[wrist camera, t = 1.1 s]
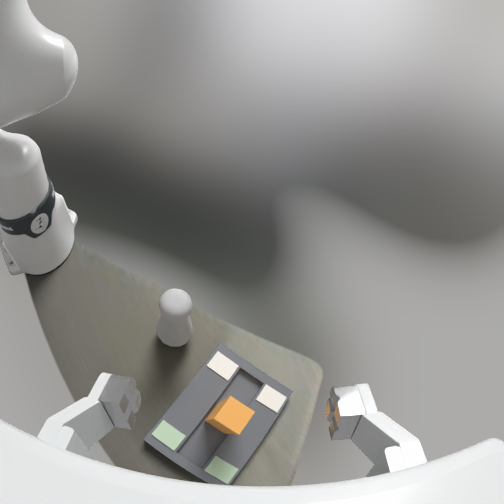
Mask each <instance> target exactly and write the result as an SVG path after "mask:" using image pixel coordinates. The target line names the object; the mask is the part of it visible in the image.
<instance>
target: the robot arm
mask: <svg viewBox="0 0 504 504" xmlns="http://www.w3.org/2000/svg"><path fill="white" fill-rule="evenodd" d="M77 72H78V59H77V54H76V51H75V49H74V47H73V45H72V44H71V43H70V42H69V41H68V40H67V39H66V38H65V37H63V36H61V35H59V34H56V33H54V32H52V31H50V30H48V29H47V28H46V27H44V26H43V25H42V24H40V23H39V21H38V20H37V19H36V18H35V17H34V15H33V14H32V12H31V10H30V8H29V6H28V3H27V0H0V128H2V127H4V126H6V125H9V124H11V123H14V122H16V121H19V120H21V119H24V118H26V117H29V116H32V115H35V114H37V113H39V112H41V111H43V110H45V109H46V108H48V107H50V106H52V105H54V104H56V103H57V102H59V101H61V100H63V99H65V98H66V97H67V95H68V94H69V92H70V91H71V89H72V87H73V85H74V82H75V80H76V77H77ZM76 222H77V215H76V213H75V212H73V211H71V210H69V209H68V208H67V206H66V204H65V201H64V199H63V197H62V196H61V195H59V194H58V193H56V192H54V188H53V185H52V183H51V181H50V179H49V177H48V176H47V175H46V172H45V168H44V164H43V161H42V157H41V153H40V149H39V147H38V145H37V144H36V143H35V142H34V141H33V140H31V138H29V137H27V136H25V135H22V134H15V133H8V132H5V131H3V130H1V129H0V246H1V249H2V252H3V255H4V258H5V261H6V264H7V267H8V270H9V272H10V273H11V274H12V275H17V274H21V273H28V274H33V275H38V274H44V273H47V272H49V271H51V270H53V269H55V268H56V267H58V266H59V265H60V264H61V263H62V262H63V261H64V260H65V259H66V258H67V256H68V255H69V253H70V251H71V249H72V246H73V243H74V227H75V225H76ZM12 263H13V264H12ZM11 264H12V265H11ZM135 387H136V381H135V379H133V378H128V377H123V376H118V375H113V374H108V373H102V374H100V376H99V378H98V379H97V381H96V383H95V385H94V387H93V388H92V390H91V392H90V394H89V396H88V397H84V398H82V399H81V400H79V401H77V402H75V403H74V404H72V405H70V406H69V407H67V408H65V409H63V410H62V411H60V412H58V413H57V414H55V415H53V416H51V417H50V418H48V419H47V421H46V423H45V424H44V426H43V428H42V429H41V431H40V433H39V435H38V437H34V436H32V435H30V434H28V433H26V432H24V431H22V430H20V429H18V428H16V427H14V426H12V425H10V424H8V423H7V422H5V421H3V420H1V419H0V504H504V442H503V441H501V440H499V439H496V438H490V439H487V440H485V441H482V442H480V443H478V444H476V445H473V446H471V447H468V448H466V449H464V450H461V451H458V452H456V453H453V454H450V455H448V456H445V457H442V458H439V459H436V460H433V461H430V462H427V460H426V457H425V455H424V452H423V449H422V447H421V444H420V441H419V439H417V438H416V437H415V436H413V435H412V434H410V433H409V432H408V431H406V430H405V429H404V428H402V427H401V426H400V425H398V424H397V423H396V422H394V421H393V420H392V419H390V418H389V417H388V416H386V415H385V414H384V413H382V412H378V410H377V408H376V405H375V402H374V399H373V396H372V393H371V390H370V388H369V385H368V384H356V385H345V386H333V387H332V388H331V390H330V396H331V397H330V398H329V399H328V401H327V408H326V412H327V420H328V421H330V422H331V424H330V427H329V431H330V436H331V440H343V439H351V440H352V441H353V443H354V444H355V445H356V446H357V447H358V448H359V449H360V450H361V451H362V452H363V453H364V454H365V455H366V456H367V457H368V458H369V459H370V460H371V461H372V462H373V463H374V464H375V465H374V466H373V468H372V469H371V470H370V472H369V473H368V474H367V476H366V477H365V478H360V479H354V480H348V481H340V482H333V483H323V484H313V485H300V486H232V485H218V484H207V483H198V482H190V481H183V480H176V479H170V478H165V477H159V476H154V475H149V474H145V473H140V472H136V471H132V470H128V469H124V468H120V467H116V466H113V465H109V464H105V463H102V462H99V461H96V460H95V457H94V456H93V455H92V453H91V452H90V451H89V448H90V447H91V446H92V445H94V444H95V443H96V442H97V441H99V440H100V439H101V438H102V437H103V436H105V435H106V434H107V433H108V432H109V431H111V430H112V429H113V428H114V426H116V427H121V428H126V429H131V430H132V427H133V425H134V422H135V419H136V417H135V415H134V413H136V412H137V411H139V408H140V406H141V394H140V392H139V390H138V389H136V388H135Z"/></svg>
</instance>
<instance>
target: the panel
mask: <svg viewBox="0 0 504 504" xmlns="http://www.w3.org/2000/svg"><path fill="white" fill-rule="evenodd" d="M292 392H293V391H292V390H290V389H288V388H287V387H285V386H284V385H282V384H281V383H279V382H278V381H276V380H274V379H273V378H271V377H270V376H268V375H267V374H265V373H264V372H262V371H261V370H259V369H258V368H256V367H255V366H253V365H252V364H251V363H249V362H248V361H246V360H245V359H243V358H242V357H240V356H239V355H238V354H236V353H235V352H233V351H232V350H230V349H229V348H228V347H226V346H225V345H223V344H222V343H221V344H220V345H219V346H218V347H217V349H216V350H215V351H214V353H213V354H212V355H211V356H210V358H209V359H208V360H207V362H206V363H205V364H204V365H203V367H202V368H201V369H200V370H199V372H198V373H197V374H196V375H195V377H194V378H193V379H192V381H191V382H190V383H189V384H188V386H187V387H186V388H185V389H184V391H183V392H182V393H181V394H180V395H179V397H178V398H177V399H176V400H175V402H174V403H173V404H172V405H171V407H170V408H169V409H168V410H167V411H166V413H165V414H164V415H163V416H162V418H161V419H160V420H159V421H158V422H157V424H156V425H155V426H154V427H153V429H152V430H151V431H150V432H149V433H148V435H147V436H146V437H145V438H144V439H143V440H145V441H146V442H147V443H148V444H150V445H151V446H152V447H154V448H155V449H157V450H158V451H159V452H161V453H162V454H163V455H165V456H166V457H168V458H169V459H171V460H172V461H173V462H175V463H176V464H178V465H179V466H181V467H182V468H184V469H186V470H187V471H189V472H190V473H192V474H193V475H195V476H197V477H198V478H200V479H202V480H203V481H205V482H207V483H208V484H218V485H230V484H231V483H232V481H233V480H234V479H235V477H236V476H237V475H238V473H239V472H240V471H241V469H242V468H243V467H244V465H245V464H246V462H247V461H248V460H249V458H250V457H251V455H252V454H253V452H254V451H255V450H256V448H257V447H258V445H259V444H260V442H261V441H262V439H263V438H264V436H265V435H266V433H267V432H268V430H269V429H270V427H271V426H272V424H273V423H274V421H275V420H276V418H277V416H278V415H279V413H280V412H281V410H282V409H283V407H284V405H285V404H286V402H287V400H288V399H289V397H290V396H291V394H292ZM229 396H232V397H233V398H235V399H236V400H238V401H239V402H241V403H242V404H244V405H246V406H247V407H249V408H250V409H252V410H253V411H255V413H254V414H253V416H252V417H251V419H250V420H249V421H248V423H247V424H246V426H245V427H244V429H243V430H242V431H241V433H240V434H239V435H235V434H224V433H222V432H221V431H219V430H218V429H216V428H215V427H213V426H212V425H210V424H209V423H207V422H206V421H205V420H206V418H207V417H208V416H209V414H210V413H211V412H212V410H213V409H214V408H215V406H216V405H217V404H218V403H219V402H221V401H223V400H224V399H226V398H228V397H229Z"/></svg>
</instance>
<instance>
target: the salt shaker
mask: <svg viewBox="0 0 504 504" xmlns="http://www.w3.org/2000/svg"><path fill="white" fill-rule="evenodd" d="M159 307H160V312H161V316H160V318H159V320H158V323H157V327H156V330H157V334H158V337H159V338H160V339H161V341H162V342H163V343H164V344H167V345H169V346H171V347H180V346H182V345H184V344H186V343H187V342H188V341H189V340H190V338H191V337H192V333H193V327H192V323H191V320H190V317H189V315H190V313H191V309H192V302H191V299H190V296H189V295H188V294H187V293H186V292H185V291H183V290H181V289H170V290H167V291H165V293H164V294H163V295H162V296H161V299H160V302H159Z"/></svg>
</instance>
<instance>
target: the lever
mask: <svg viewBox="0 0 504 504" xmlns="http://www.w3.org/2000/svg"><path fill="white" fill-rule="evenodd" d="M254 413H255V411H253V410H252V409H250V408H249V407H247V406H246V405H244V404H242V403H241V402H239V401H238V400H236V399H235V398H233V397H232V396H229V397H228V398H226V399H224V400H223V401H221V402H219V403H218V404H217V405H216V406H215V408H214V409H213V410H212V412H211V413H210V414H209V416H208V417H207V418H206V420H205V421H206V422H207V423H209V424H210V425H212V426H213V427H215V428H216V429H218V430H219V431H221V432H222V433H224V434H235V435H239V434H240V433H241V431H242V430H243V429H244V427H245V426H246V424H247V423H248V421H249V420H250V419H251V417H252V416H253V414H254Z"/></svg>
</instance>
